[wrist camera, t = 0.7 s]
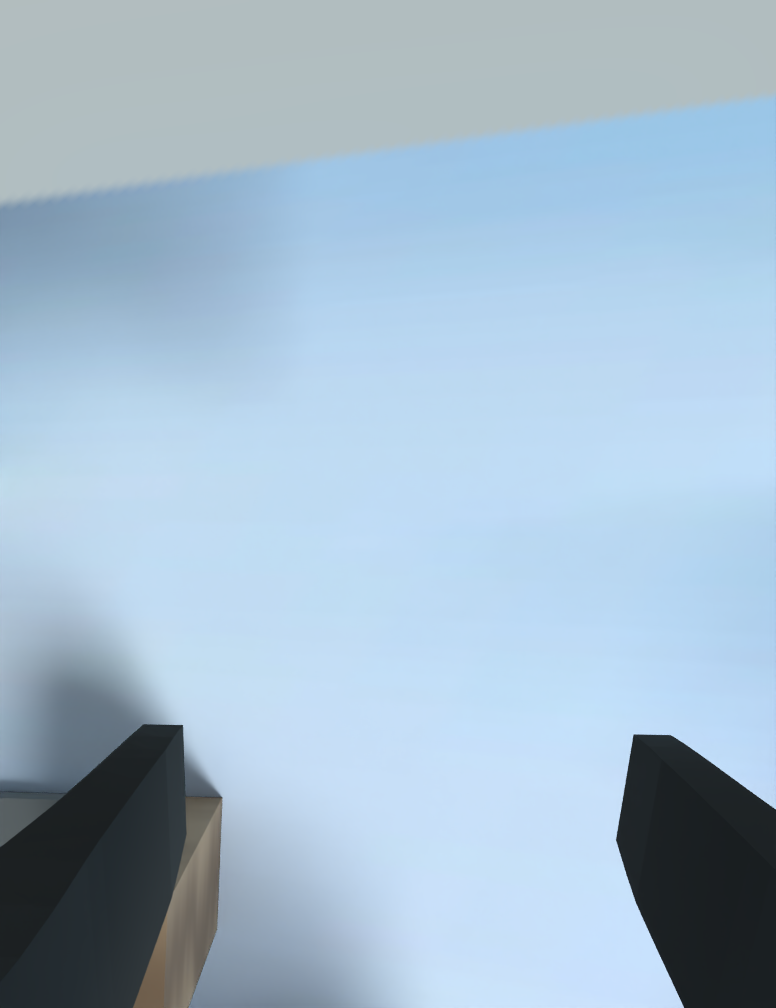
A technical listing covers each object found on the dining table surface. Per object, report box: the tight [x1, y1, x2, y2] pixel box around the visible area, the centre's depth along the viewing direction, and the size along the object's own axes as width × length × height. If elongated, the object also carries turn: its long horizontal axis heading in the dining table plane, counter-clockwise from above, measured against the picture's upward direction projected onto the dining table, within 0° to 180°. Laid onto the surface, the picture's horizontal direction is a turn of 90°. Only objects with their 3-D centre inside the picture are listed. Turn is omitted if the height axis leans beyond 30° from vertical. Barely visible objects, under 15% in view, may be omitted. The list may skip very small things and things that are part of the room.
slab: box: [133, 796, 222, 1008], centre depth 24 cm, size 5×2×8 cm, turn 178°
